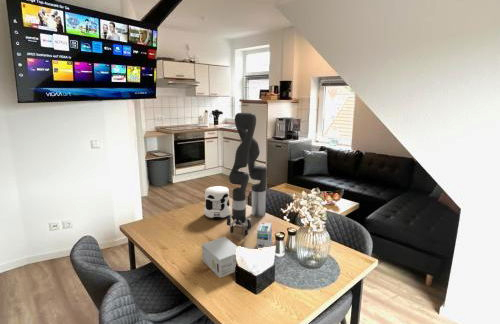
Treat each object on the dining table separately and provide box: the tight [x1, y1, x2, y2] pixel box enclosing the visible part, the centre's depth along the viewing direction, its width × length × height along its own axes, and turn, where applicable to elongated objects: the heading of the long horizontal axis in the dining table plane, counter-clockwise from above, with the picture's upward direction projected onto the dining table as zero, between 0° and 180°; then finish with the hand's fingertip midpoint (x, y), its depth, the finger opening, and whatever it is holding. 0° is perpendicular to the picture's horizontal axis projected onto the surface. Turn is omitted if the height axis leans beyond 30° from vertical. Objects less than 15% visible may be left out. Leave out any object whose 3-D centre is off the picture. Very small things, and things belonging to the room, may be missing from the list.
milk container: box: [203, 185, 232, 220], centre depth 191 cm, size 17×17×18 cm
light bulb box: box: [256, 221, 273, 249], centre depth 155 cm, size 11×7×11 cm, turn 168°
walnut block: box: [232, 224, 246, 241], centre depth 163 cm, size 5×5×7 cm
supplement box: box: [201, 236, 239, 279], centre depth 137 cm, size 17×13×9 cm
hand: (239, 234), depth 163 cm, fingers open, 8 cm apart
